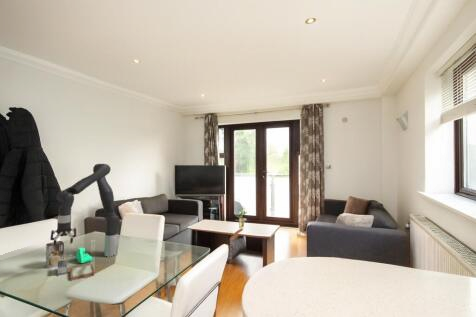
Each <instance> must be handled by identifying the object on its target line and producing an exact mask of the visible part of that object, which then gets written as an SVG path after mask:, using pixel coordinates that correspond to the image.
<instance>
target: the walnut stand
mask: <svg viewBox="0 0 476 317" xmlns="http://www.w3.org/2000/svg"><path fill="white" fill-rule="evenodd" d="M69 274H70V281H71V282H72V281H76V280H80V279H85V278H90V277H93V276H95V271H94V267H93V264H88V265H84V266H83V265H82V266H77V267H73V268H70V269H69Z"/></svg>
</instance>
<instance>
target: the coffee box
mask: <svg viewBox="0 0 476 317" xmlns="http://www.w3.org/2000/svg"><path fill="white" fill-rule="evenodd" d="M45 246H46V247H45V266H46V267H47V268H48V269H51V268H55V267H58V261H64V260H65V258H64V254H65V250H64V249H65V243H64V242H63V241H62V240H56V246H55V245H54V241H52V242H49V243H46V244H45Z"/></svg>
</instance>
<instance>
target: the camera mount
mask: <svg viewBox="0 0 476 317" xmlns="http://www.w3.org/2000/svg"><path fill="white" fill-rule="evenodd" d="M75 259H76V261H77V262H78V263H80V264H84V263H88V262H91V261H93V257H92V256H91V255H90V254H89V253H88V252H86V249H85V246H84V247H83V246H82V247H79V248H77V251H76V253H75Z"/></svg>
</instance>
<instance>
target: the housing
mask: <svg viewBox="0 0 476 317" xmlns="http://www.w3.org/2000/svg"><path fill="white" fill-rule="evenodd" d="M67 271H68V260H67V259H64V261H58V266H57V277H59V276H63V275H67V274H68V272H67Z"/></svg>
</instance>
